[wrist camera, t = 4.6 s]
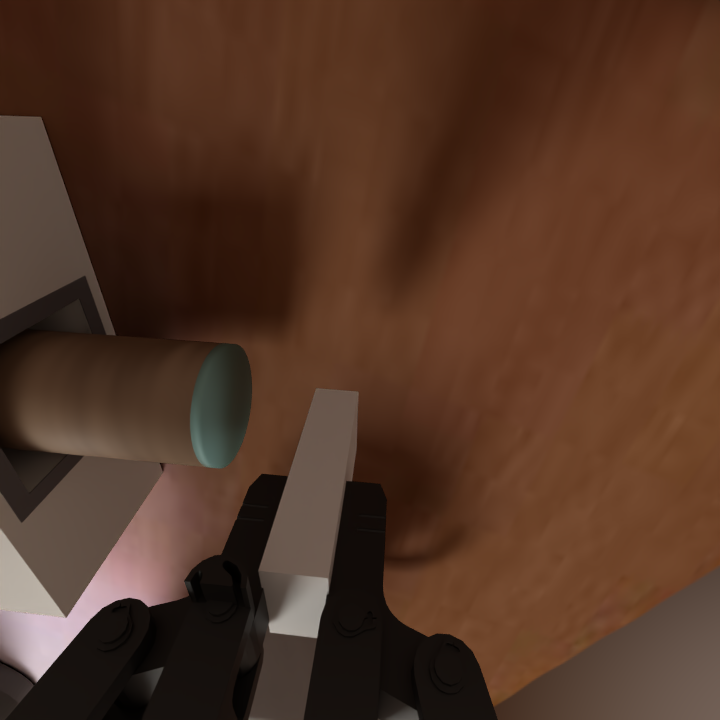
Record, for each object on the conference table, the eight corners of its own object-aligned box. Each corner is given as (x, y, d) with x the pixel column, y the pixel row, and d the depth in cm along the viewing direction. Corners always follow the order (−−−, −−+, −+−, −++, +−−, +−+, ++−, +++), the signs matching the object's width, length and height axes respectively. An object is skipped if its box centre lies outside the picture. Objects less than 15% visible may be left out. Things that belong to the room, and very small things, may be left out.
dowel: (9, 392, 19) (-93, 465, 15) (-40, 303, 16) (-177, 363, 13) (256, 413, 18) (216, 495, 14) (243, 322, 16) (190, 392, 12)
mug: (237, 576, 29) (172, 758, 21) (257, 504, 24) (183, 701, 16) (392, 617, 30) (387, 805, 22) (439, 555, 25) (456, 765, 17)
